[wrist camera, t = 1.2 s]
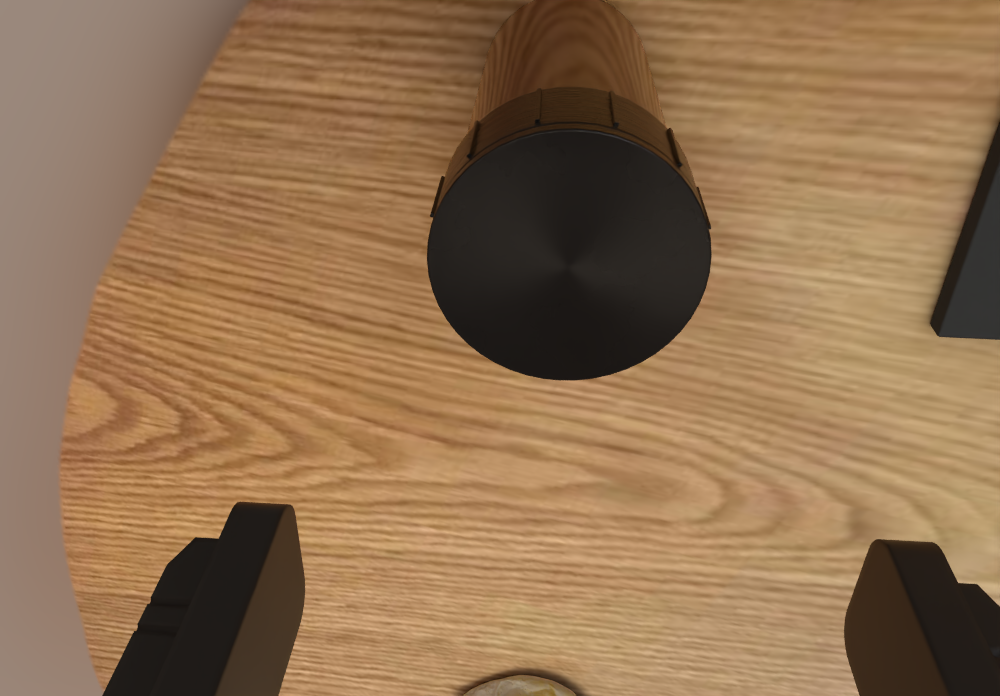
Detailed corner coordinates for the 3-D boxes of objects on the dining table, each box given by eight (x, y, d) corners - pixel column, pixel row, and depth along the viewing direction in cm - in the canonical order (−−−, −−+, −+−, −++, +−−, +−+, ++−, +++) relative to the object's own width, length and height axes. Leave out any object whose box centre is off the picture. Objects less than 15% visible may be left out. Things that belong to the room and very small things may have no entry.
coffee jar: (485, -11, 30) (439, 127, 19) (656, -5, 30) (715, 139, 18) (483, 152, 33) (443, 354, 22) (638, 158, 33) (678, 366, 22)
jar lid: (438, 80, 20) (422, 122, 18) (713, 90, 20) (734, 135, 18) (443, 313, 24) (429, 374, 22) (676, 324, 24) (690, 387, 21)
